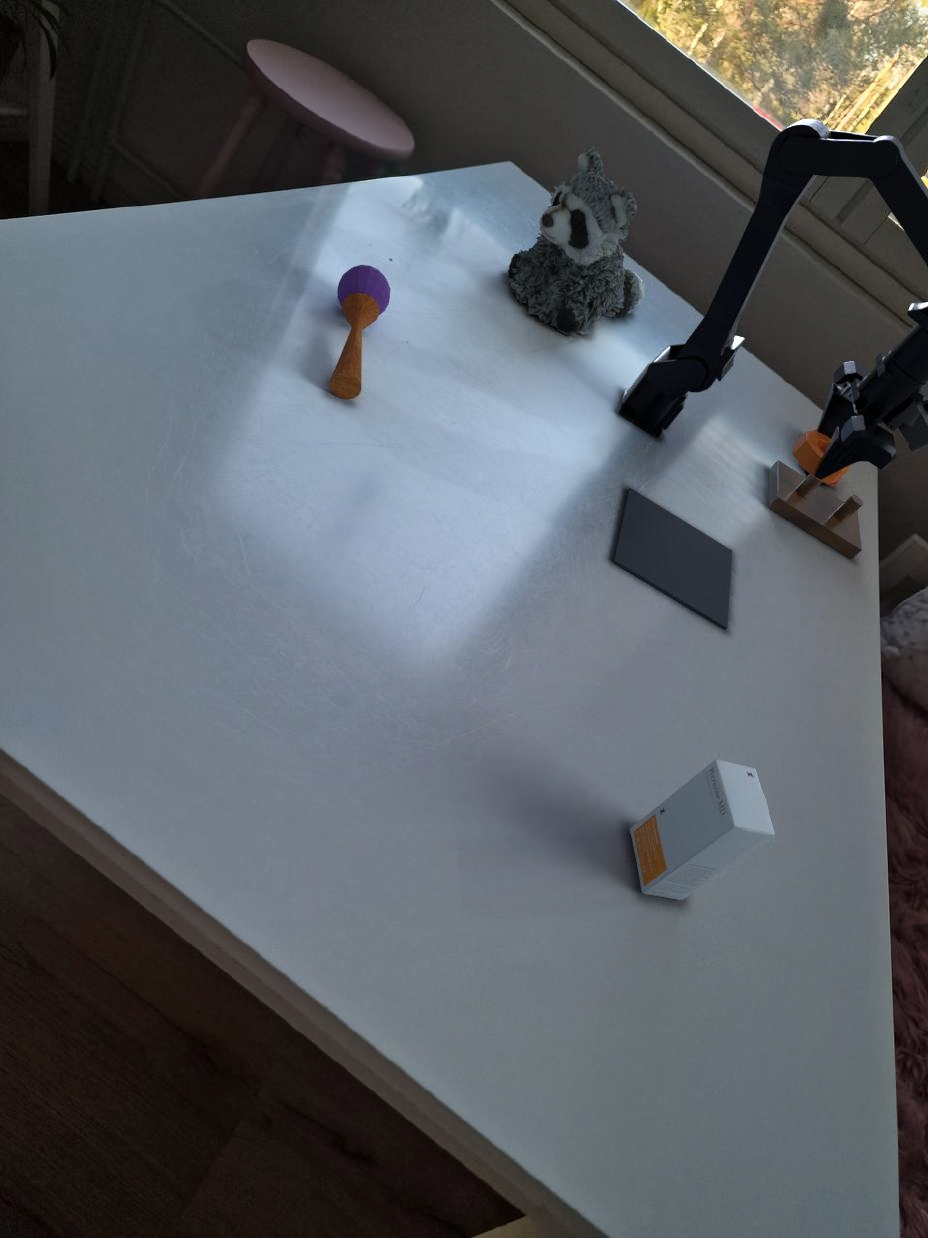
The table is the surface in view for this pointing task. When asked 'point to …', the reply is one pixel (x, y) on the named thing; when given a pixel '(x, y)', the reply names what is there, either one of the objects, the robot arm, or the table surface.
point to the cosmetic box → (701, 830)
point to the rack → (815, 509)
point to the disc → (814, 454)
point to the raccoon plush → (580, 254)
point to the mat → (674, 558)
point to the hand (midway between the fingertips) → (815, 461)
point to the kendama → (357, 323)
